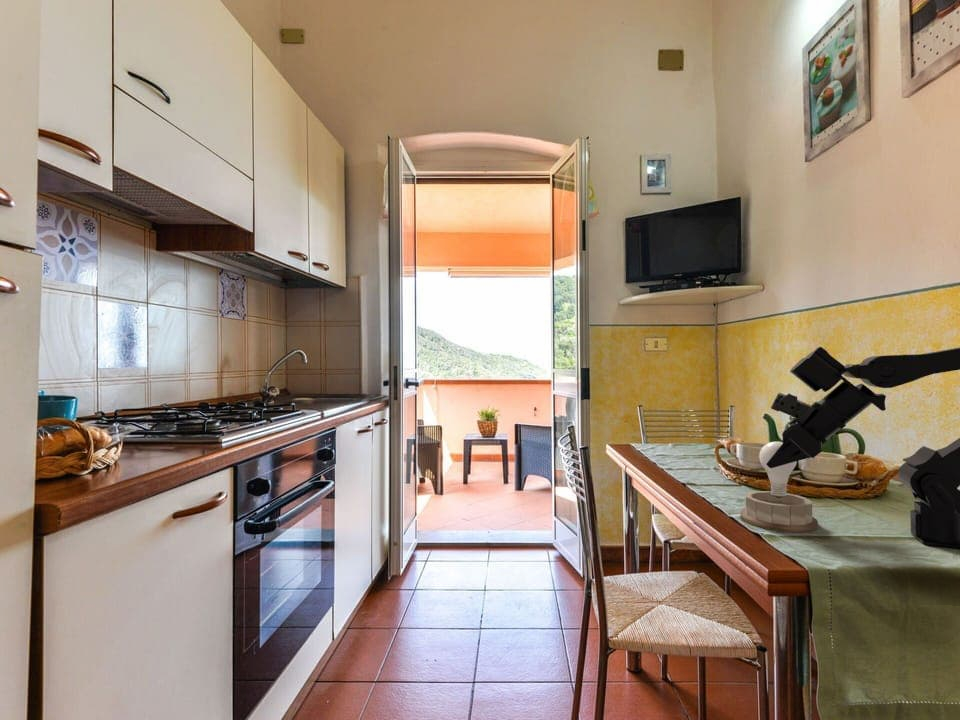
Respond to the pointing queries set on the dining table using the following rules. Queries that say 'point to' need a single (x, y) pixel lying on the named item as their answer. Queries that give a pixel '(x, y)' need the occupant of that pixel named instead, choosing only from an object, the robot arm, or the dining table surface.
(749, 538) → the dining table surface
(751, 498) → the holder
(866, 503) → the dining table surface
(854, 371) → the robot arm
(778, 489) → the lightbulb
